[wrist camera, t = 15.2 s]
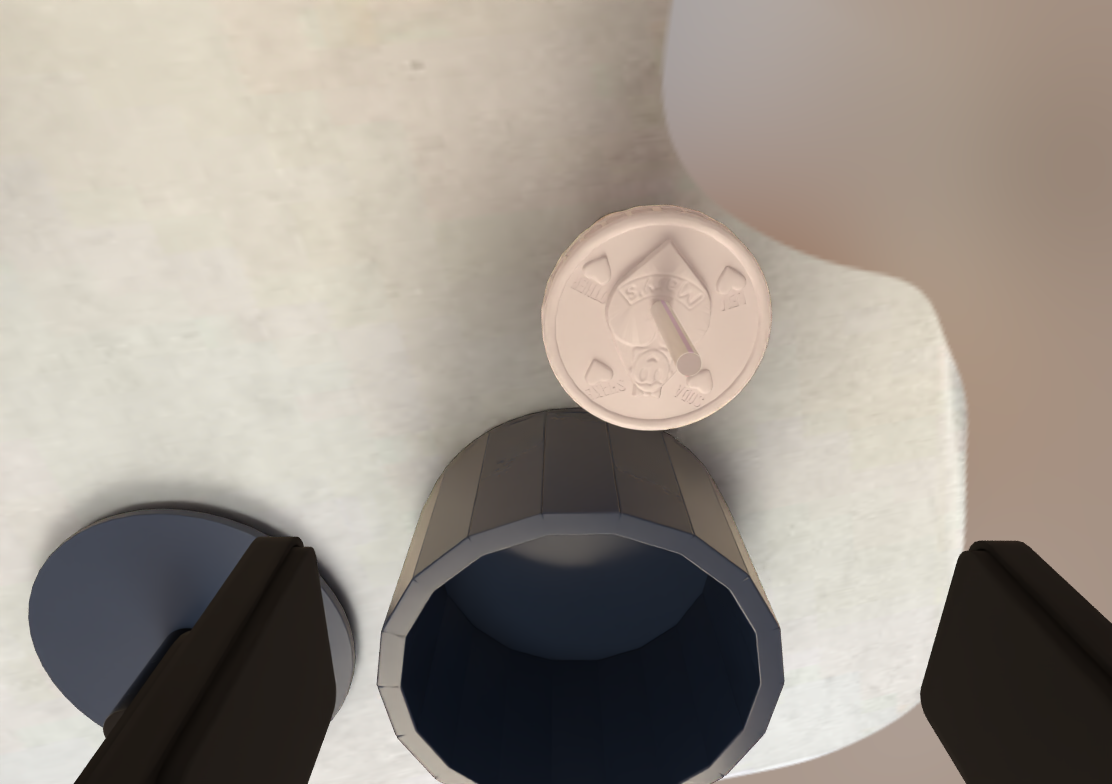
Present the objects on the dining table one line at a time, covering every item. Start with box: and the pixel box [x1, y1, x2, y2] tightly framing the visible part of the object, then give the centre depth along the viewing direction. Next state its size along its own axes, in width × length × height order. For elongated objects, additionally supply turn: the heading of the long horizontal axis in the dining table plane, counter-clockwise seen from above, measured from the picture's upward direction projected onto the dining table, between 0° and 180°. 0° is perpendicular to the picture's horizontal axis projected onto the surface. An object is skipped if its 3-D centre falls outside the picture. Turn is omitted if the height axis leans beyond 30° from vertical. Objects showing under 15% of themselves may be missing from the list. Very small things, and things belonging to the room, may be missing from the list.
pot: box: [377, 408, 784, 784], centre depth 29 cm, size 15×15×8 cm
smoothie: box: [541, 205, 772, 431], centre depth 21 cm, size 6×6×14 cm
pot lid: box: [28, 509, 355, 738], centre depth 32 cm, size 16×16×6 cm
